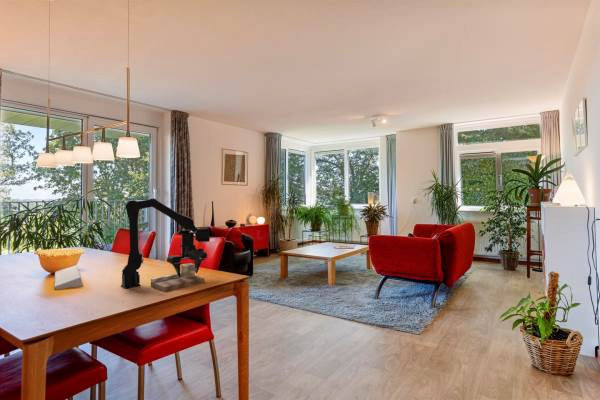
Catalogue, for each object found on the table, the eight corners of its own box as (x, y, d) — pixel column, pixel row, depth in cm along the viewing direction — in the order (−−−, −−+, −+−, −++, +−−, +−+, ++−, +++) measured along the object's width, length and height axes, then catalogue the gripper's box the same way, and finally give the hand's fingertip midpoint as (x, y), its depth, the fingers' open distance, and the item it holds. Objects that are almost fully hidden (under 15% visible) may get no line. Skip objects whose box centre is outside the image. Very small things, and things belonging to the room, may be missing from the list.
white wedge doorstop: (58, 296, 150) (83, 286, 156) (54, 286, 150) (80, 277, 155) (58, 280, 178) (80, 272, 184) (55, 272, 177) (77, 264, 183)
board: (164, 291, 146) (164, 283, 146) (150, 286, 155) (150, 278, 155) (204, 282, 161) (204, 275, 161) (189, 277, 170) (189, 271, 170)
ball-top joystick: (191, 280, 157) (191, 267, 157) (181, 277, 164) (181, 264, 163) (200, 278, 161) (200, 265, 161) (190, 275, 167) (190, 263, 167)
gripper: (178, 246, 152) (178, 281, 152) (213, 242, 166) (213, 273, 166) (166, 244, 159) (166, 277, 159) (201, 240, 173) (201, 270, 173)
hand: (188, 274), depth 164 cm, fingers open, 9 cm apart
